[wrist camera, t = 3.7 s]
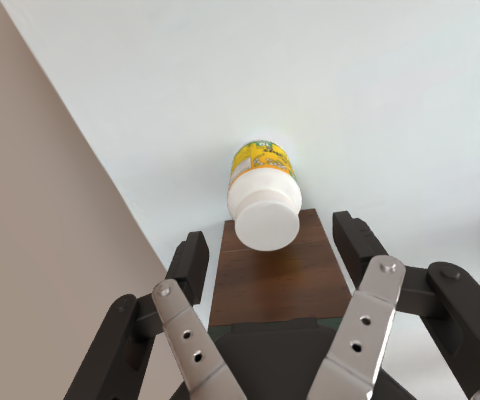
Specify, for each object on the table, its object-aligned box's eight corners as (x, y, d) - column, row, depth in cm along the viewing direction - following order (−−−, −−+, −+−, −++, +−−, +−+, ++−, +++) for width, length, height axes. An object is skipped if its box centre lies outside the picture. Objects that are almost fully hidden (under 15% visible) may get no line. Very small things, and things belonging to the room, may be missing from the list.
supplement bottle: (221, 165, 22) (205, 228, 14) (260, 124, 20) (267, 171, 12) (260, 198, 24) (265, 270, 16) (300, 164, 22) (329, 227, 14)
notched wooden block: (224, 220, 26) (205, 341, 15) (315, 208, 25) (367, 331, 14) (249, 304, 34) (248, 422, 23) (318, 299, 33) (351, 421, 22)
